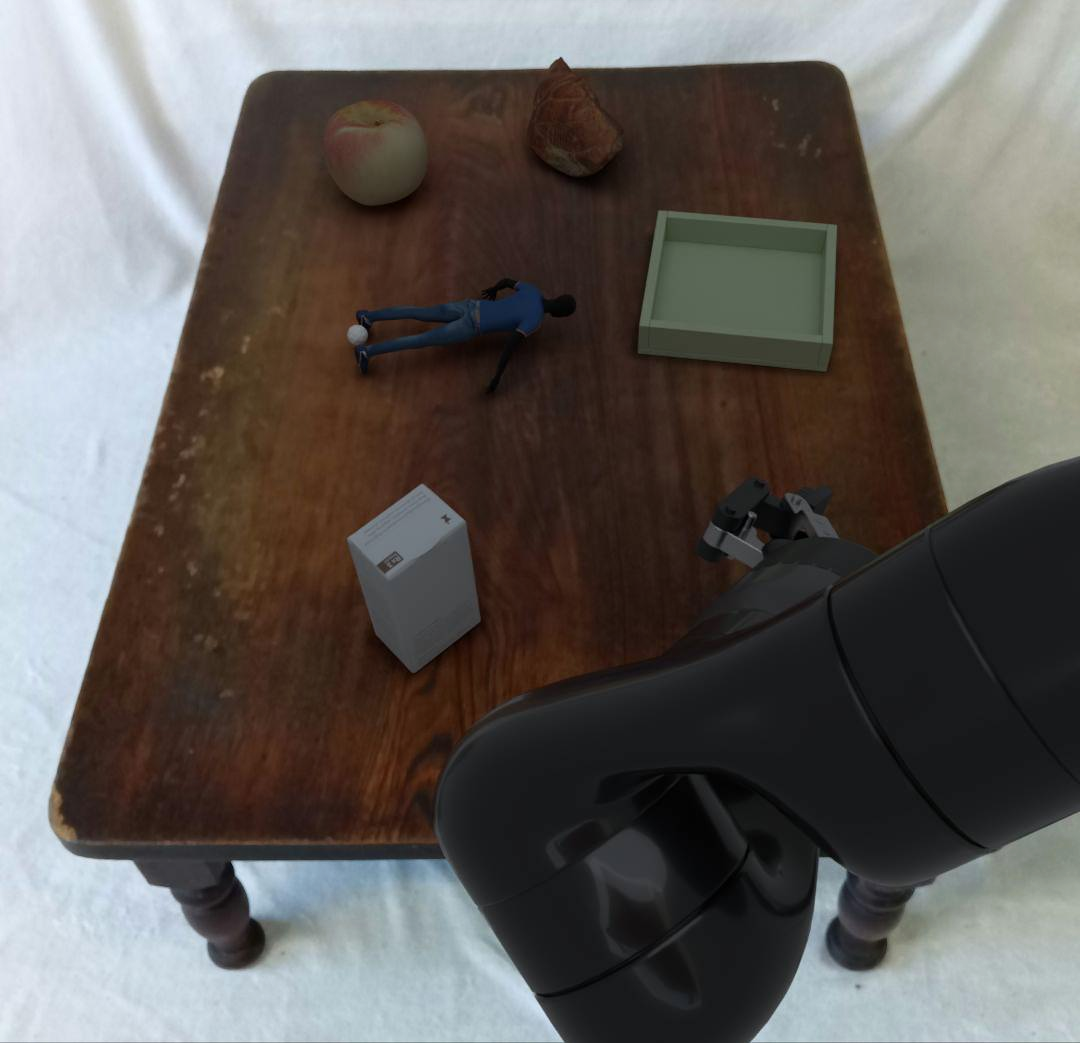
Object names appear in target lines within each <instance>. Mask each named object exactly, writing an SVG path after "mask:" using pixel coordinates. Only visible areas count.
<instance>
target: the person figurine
mask: <svg viewBox="0 0 1080 1043" xmlns="http://www.w3.org/2000/svg"><path fill="white" fill-rule="evenodd" d="M507 288H508V289H511V290H514V291H515V293H514V294H512V295H510V296H507V297H504V298H501V299H498V300H496V299H497V294H498V292H499V291H502V290H505V289H507ZM480 295H481V296H483V297H482V299H476V298H471V297H470V298H466V299H464V300H462V301H450V302H443V303H440V304H436V305H434V306H424V307H423V306H422V307H421V306H416V305H415V306H413V305H399V306H391V307H385V308H381V309H376V310H368V309H359V310H358V309H357V311H356V312H355V313H356V314H355V317H356V318H355V319H356V321H357V323H358V324H354V325H351V326H350V327H349V329H348V330H347V333H346V338H347V340H348V342H349V343H350V344H352V345H353V346H354V347H353V349H354V356H355V359H356V363H357V365H358V368H359V371H360V372H361V373H362V374H366V373H367V372H368V370H369V368H368V367H369V363H370V360H371V359H372V358H373V357H376V356H380V355H385V354H389V353H396V352H401V351H406V350H416V349H417V350H418V349H424V348H427V347H435V346H442V347H443V346H444V347H445V346H451V345H453V346H454V345H457V344H462V343H464V342H467V341H471V340H472V339H474V338H476V337H479V336H483V335H489V334H493V333H499V332H506V333H513V334H512V335H511V336H510V337H509V338H508V339H507V341H506V342H505V344H504V348H503V349H502V352H501V354H500V358H499V361H498V366H497V369H496V372H495V376H494V377H493V378H492V379H491V381H490V384H489V385H488V386H487V387H486V388H485V389H484V390H485V393H484V394H486V395H487V396H488V395H490V394H493V393H494V392H495V391H496V389H497V387H498V386H499V383H500V382H501V377H502V376H503V374H504V371H505V369H506V367H507V366H508V363H509V362H510V360H511V357H512V355H513V354H514V351H515V349H516V348H517V347H518V346H519V345H520V344H521V343H522V342H523V341H524V340H525V339H526V338H527V337H529V336H531V335H533V334H534V333H536V332H537V331H538V330H539V329H540V328H541V325H542V323H543V317H544V315H545V314H549V315H550V316H551V317H552V318H556V319H559V318H560V319H561V318H568V317H571V316H572V315H573V314H574V313H575V311H576V310H577V302H576V299H575V297H574V296H573V295H572V294H569V293H563V294H560V295H558V296H557V297H556V298H554V299H547V298H545V297H544V295H543V294H542V292H541V291H540V290H539V289H538V288H537V286H535V285H534V284H531V283H527V282H523V281H519V280H515V279H512V278H509V277H505V278H502V279H500V280H499V281H498V282H496V283H495V284H494V285H493V286H490V287H488V288H486V289H483V290H481V294H480ZM400 320H415V321H419V322H423V323H436V324H443V325H440V326H438V327H436V328H433V329H431V330H427V331H425V332H421V333H418V334H413V335H405V336H401V337H397V338H394V339H390V340H387V341H383V342H379V343H374V344H370V345H363V344H365V343H366V342H367V340H368V339H369V337H370V330H371V328H372V326H373V323H377V322H383V321H400Z"/></svg>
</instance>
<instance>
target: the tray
mask: <svg viewBox="0 0 1080 1043" xmlns="http://www.w3.org/2000/svg"><path fill="white" fill-rule="evenodd" d="M837 237H838V225H837V224H831V223H821V222H820V223H819V222H809V221H796V220H784V219H772V218H771V219H770V218H759V217H748V216H747V217H746V216H737V215H736V216H735V215H734V216H733V215H723V214H713V213H711V214H710V213H699V212H698V213H697V212H687V211H674V210H661V209H660V210H658V211H657V216H656V222H655V227H654V233H653V240H652V246H651V252H650V258H649V264H648V270H647V276H646V282H645V288H644V294H643V298H642V299H643V300H642V305H641V311H640V318H639V324H638V339H637V340H638V341H637V342H638V343H637V354H638V355H639V354H640V355H650V356H658V357H659V356H660V357H671V358H681V359H691V360H701V361H711V362H722V363H729V364H730V363H731V364H742V365H751V366H753V365H754V366H761V367H762V366H763V367H772V368H783V369H793V370H803V371H814V372H822V373H823V372H824V373H827V371H828V367H829V363H830V358H831V353H832V350H833V345H834V327H835V325H834V324H835V298H836V293H835V292H836V269H837V268H836V266H837Z"/></svg>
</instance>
